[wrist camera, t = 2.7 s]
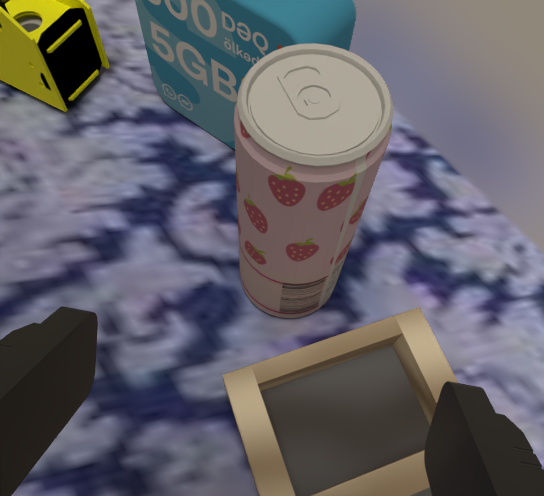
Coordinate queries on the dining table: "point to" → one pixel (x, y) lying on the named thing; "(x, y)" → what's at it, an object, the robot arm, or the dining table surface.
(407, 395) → the board
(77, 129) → the dining table surface
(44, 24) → the yellow toy chassis
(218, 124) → the data package
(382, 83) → the beverage can
